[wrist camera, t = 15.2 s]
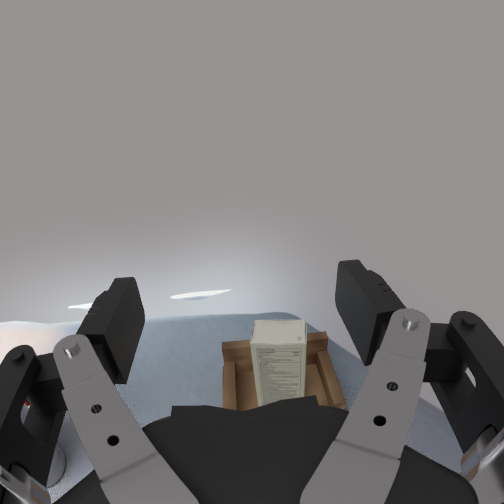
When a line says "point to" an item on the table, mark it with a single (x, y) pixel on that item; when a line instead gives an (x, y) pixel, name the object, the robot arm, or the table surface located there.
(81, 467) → the table surface
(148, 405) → the table surface
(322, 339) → the tray
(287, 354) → the skincare box
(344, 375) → the table surface
